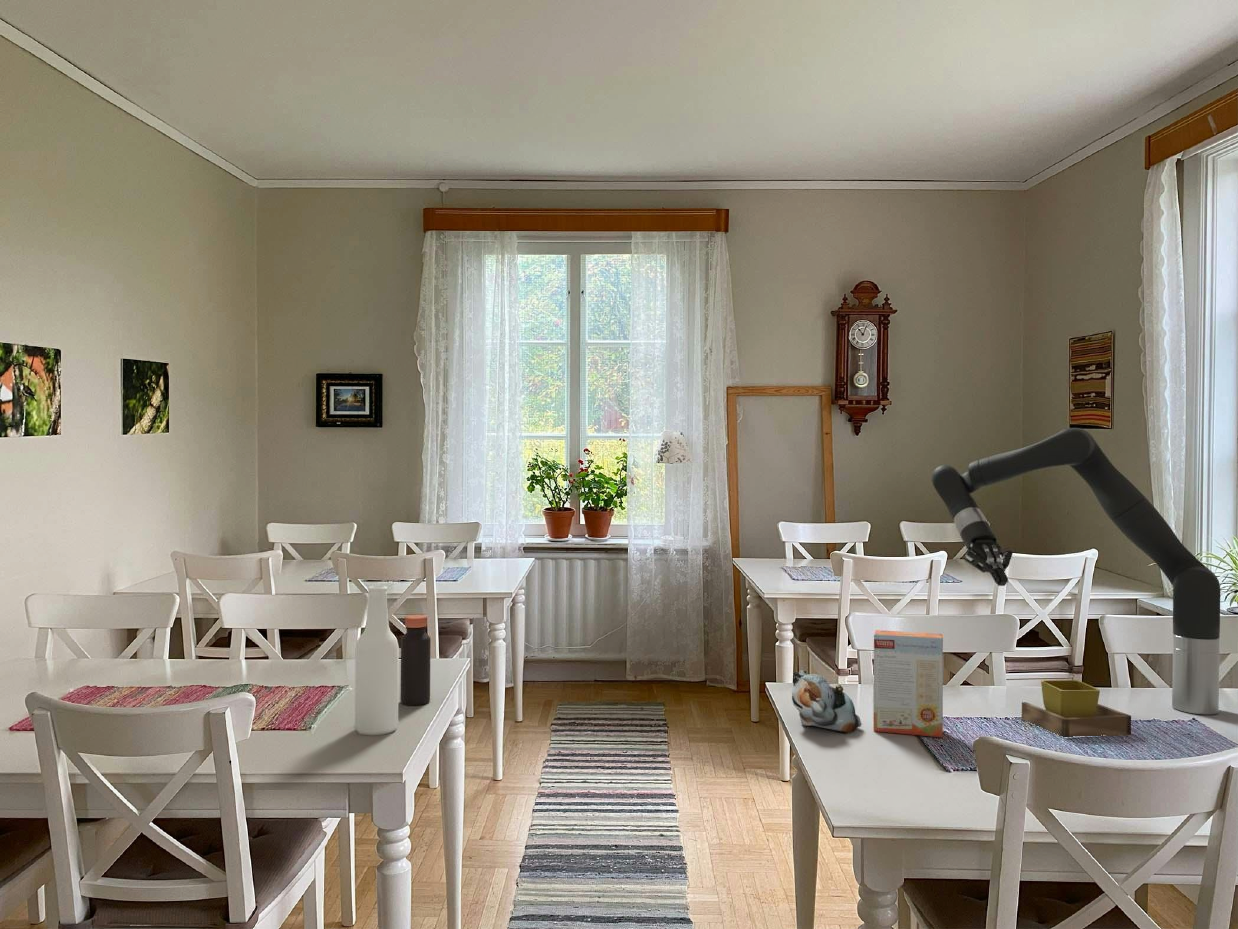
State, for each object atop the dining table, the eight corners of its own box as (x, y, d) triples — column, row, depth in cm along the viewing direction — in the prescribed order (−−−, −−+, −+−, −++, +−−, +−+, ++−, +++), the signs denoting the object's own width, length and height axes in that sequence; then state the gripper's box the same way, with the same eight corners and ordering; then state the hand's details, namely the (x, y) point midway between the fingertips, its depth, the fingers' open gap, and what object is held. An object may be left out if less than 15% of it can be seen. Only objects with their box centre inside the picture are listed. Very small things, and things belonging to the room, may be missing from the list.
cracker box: (942, 731, 197) (943, 632, 196) (942, 739, 191) (943, 638, 191) (874, 724, 201) (875, 628, 201) (872, 732, 195) (873, 633, 195)
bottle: (426, 706, 212) (427, 619, 212) (397, 706, 212) (397, 619, 212) (432, 698, 219) (433, 614, 219) (404, 698, 219) (405, 614, 219)
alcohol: (384, 721, 200) (385, 582, 200) (406, 730, 193) (407, 587, 193) (346, 729, 194) (348, 586, 193) (368, 738, 187) (369, 591, 187)
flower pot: (1100, 731, 197) (1101, 689, 197) (1061, 732, 196) (1061, 690, 196) (1077, 720, 206) (1077, 679, 206) (1039, 720, 205) (1039, 680, 205)
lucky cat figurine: (868, 734, 193) (847, 680, 189) (814, 755, 194) (793, 702, 190) (847, 696, 208) (827, 645, 203) (797, 716, 208) (776, 665, 204)
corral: (1021, 720, 205) (1021, 702, 205) (1084, 716, 209) (1084, 699, 209) (1064, 739, 192) (1065, 719, 192) (1131, 734, 195) (1131, 715, 195)
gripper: (957, 519, 231) (985, 574, 219) (1003, 519, 234) (1034, 573, 222) (944, 539, 236) (972, 593, 225) (990, 538, 239) (1020, 592, 227)
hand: (1003, 583), depth 223 cm, fingers closed
